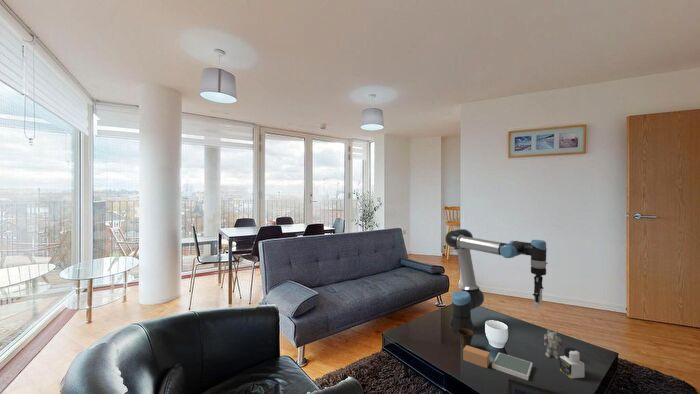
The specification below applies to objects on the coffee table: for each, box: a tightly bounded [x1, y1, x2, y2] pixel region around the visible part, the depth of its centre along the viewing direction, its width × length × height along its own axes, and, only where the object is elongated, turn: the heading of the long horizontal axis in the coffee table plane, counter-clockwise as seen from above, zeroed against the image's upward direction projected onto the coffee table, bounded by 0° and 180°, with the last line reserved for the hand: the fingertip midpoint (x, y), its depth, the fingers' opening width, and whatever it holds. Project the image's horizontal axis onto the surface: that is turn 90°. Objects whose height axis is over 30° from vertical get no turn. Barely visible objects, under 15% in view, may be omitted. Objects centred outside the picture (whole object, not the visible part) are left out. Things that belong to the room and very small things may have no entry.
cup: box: [457, 328, 475, 350], centre depth 170 cm, size 9×9×10 cm
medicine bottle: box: [559, 347, 585, 379], centre depth 144 cm, size 7×7×12 cm
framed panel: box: [491, 352, 534, 381], centre depth 150 cm, size 16×14×2 cm
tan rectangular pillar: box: [462, 345, 491, 369], centre depth 155 cm, size 12×6×6 cm, turn 50°
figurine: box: [543, 329, 562, 360], centre depth 158 cm, size 8×8×15 cm
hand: (538, 303), depth 168 cm, fingers open, 13 cm apart
